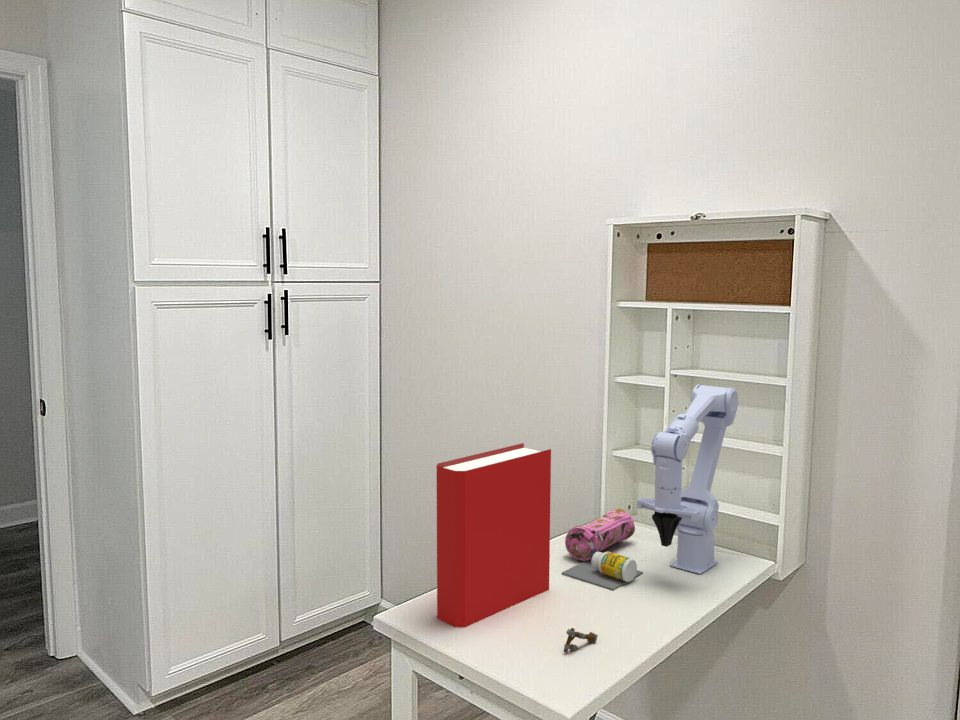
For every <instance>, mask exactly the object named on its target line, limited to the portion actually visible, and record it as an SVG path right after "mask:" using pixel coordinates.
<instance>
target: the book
mask: <svg viewBox="0 0 960 720" xmlns="http://www.w3.org/2000/svg"><path fill="white" fill-rule="evenodd" d="M551 471H552V449H550V448H549V449H545V450H543V451H540V450H536V449H532V448H527V447H525V443H523V442H522V443H518V444H514V445H509V446H505V447H502V448H497V449H493V450H489V451H485V452H480V453H475V454H473V455H469V456H463V457H459V458H456V459H451V460H448V461H443V462H438V463H437V464H436V619H437V620H439V621H441V622H444V623H446V624H448V625H450V626H452V627H454V628H467V627H469V626H472V625H474V624H476V623H478V622H480V621H482V620H485V619H487V618H489V617H491V616H493V615H496V614H498V613H500V612H503V611H505V610H507V609H509V608H511V606H512V607H514V606H516V605H517V604H520V603H523V602H525V601H527V600H529V599H531V597H532V598H534V597H536V596H538V595H540V594H543V593H544V592H547V591H549V590H550V556H551V555H550V551H551V549H550V547H551V542H550V541H551V482H552V481H551V478H552V477H551V476H552V475H551V474H552V473H551Z"/></svg>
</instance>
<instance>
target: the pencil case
mask: <svg viewBox="0 0 960 720" xmlns="http://www.w3.org/2000/svg"><path fill="white" fill-rule="evenodd" d="M635 531H636V526H635V521H634V519H633V518H632V516H631V515H630V514H629V513H628V512H627V511H626V510H624V509H623V508H621V507H620V508H613V509H611V510H610V511H608V512H606V513H605V514H604V515H602V516H599V517H597V518H596V519H594V520H593V521H591V522H589V523H587V524H586V525H575V526H573V527H571V528H570V529H569V530H568V531H567V533H566V535H565V538H564V540H565V542H564V544H565V548H566V551H567V552H568V553H569V555H570V556H572V557H573V558H575V559H576V560H579V561H581V562H584V561H587V560H590V559H591V558H592V557H593V555H594V553H595V552H601V551H603V550H605V549H607V548H608V547H609V546H612V545H614V544H617V543H619V542H623V541H626V540H628V539H629V538H631V537H632V536H633V535H634V534H635Z"/></svg>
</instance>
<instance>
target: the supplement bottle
mask: <svg viewBox="0 0 960 720" xmlns="http://www.w3.org/2000/svg"><path fill="white" fill-rule="evenodd" d="M591 564H592V567H593V568H594V569H597V570H599V571H600V572H601V573H602V574H604V575H607V576H610V577H613V578H616V579H619V580H623V581H626V582H627V583H630V582H631V581H633V580H634V579H635V578H634V577H635V575H636V571H637V570H638V565H637V564H638V563H637V561H636V560H635V559H634V558H631V557H628V556H625V555H622V554H618V553H614V552H611V551H605V552H601V551H600V552H595V553H594V555H593V557H592V560H591ZM633 578H634V579H633Z"/></svg>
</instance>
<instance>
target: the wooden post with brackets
mask: <svg viewBox="0 0 960 720" xmlns="http://www.w3.org/2000/svg"><path fill="white" fill-rule="evenodd" d="M565 633H566V635H567V639H566V642H565V643H564V646H563V647H564V648H563V652H564V653H565V654H567V653H568V651H569V650H570V651H572V652H574V651H578V650H579V646H578V645H577V644H573V643H572V642H573V641H574V640H575V638H577V639H579V640H580V639H581V640H586V641H587V642H589V643H591V644H594V645H595V644H596V642H597V640H598V636H599V634H596V633H594V632H592V631H589V633H583V632H581V631H580V632H579V631H576V629H575V628H573V627H571V628H568V629H567V630H566V631H565Z"/></svg>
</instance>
